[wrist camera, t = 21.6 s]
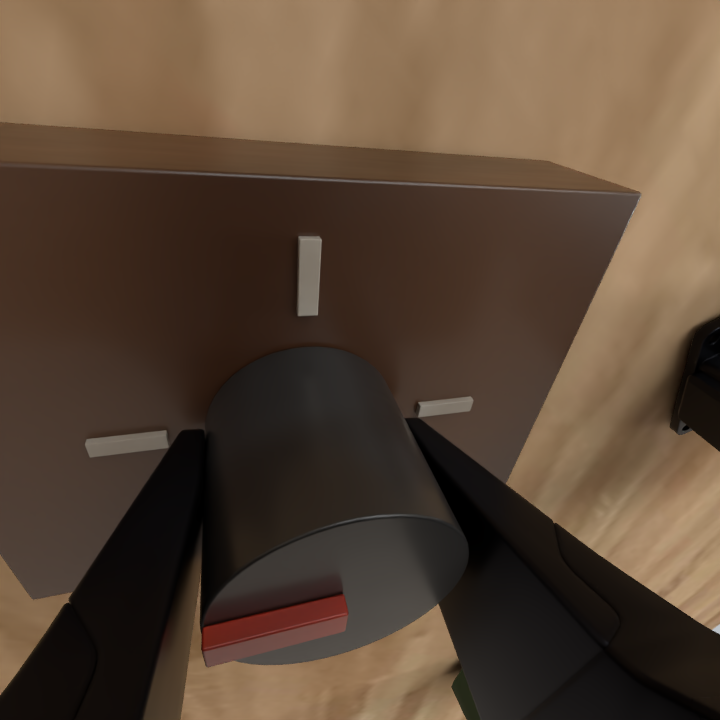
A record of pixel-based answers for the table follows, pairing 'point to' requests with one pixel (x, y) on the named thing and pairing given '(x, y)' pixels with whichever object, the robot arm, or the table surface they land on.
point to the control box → (264, 301)
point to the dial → (316, 513)
